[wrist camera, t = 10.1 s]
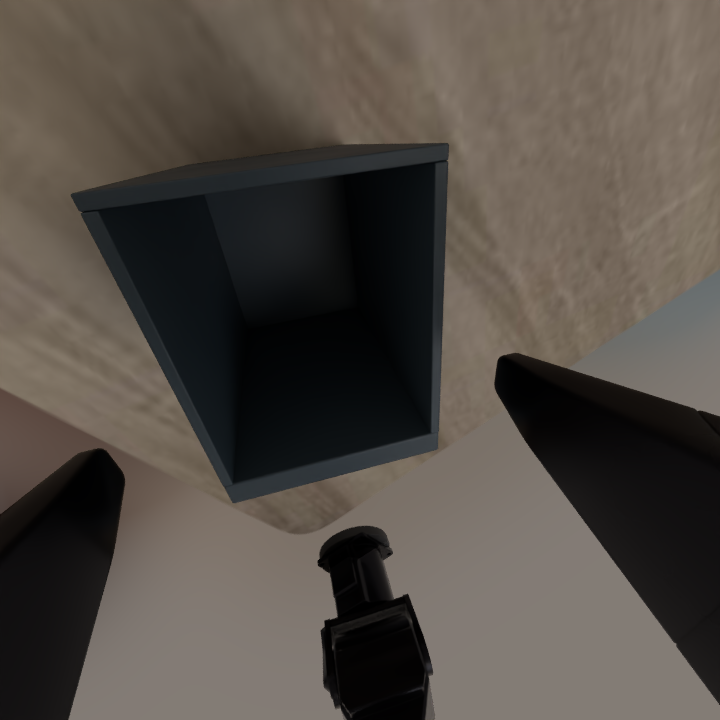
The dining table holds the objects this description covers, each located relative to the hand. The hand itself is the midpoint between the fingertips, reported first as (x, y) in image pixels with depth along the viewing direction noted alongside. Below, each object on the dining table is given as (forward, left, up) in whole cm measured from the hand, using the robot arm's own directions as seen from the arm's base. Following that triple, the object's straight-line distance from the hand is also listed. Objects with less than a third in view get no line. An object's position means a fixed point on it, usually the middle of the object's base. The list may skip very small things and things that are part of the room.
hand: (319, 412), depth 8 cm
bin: (-4, +2, -12) cm, 13 cm away
